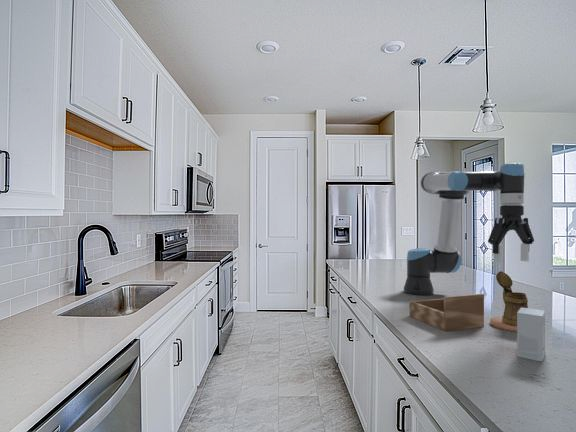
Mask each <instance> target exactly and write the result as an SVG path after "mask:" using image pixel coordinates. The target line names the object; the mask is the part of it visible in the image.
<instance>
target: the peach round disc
mask: <svg viewBox="0 0 576 432" xmlns="http://www.w3.org/2000/svg"><path fill="white" fill-rule="evenodd" d="M489 324H490V325H491V326H492V327H494V328H496V329H500V330H503V331H509V332H514V333H515V332H516V333H517V326H512V325H508V324H505V323H504V322H502V316H492V317H490V318H489Z"/></svg>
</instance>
